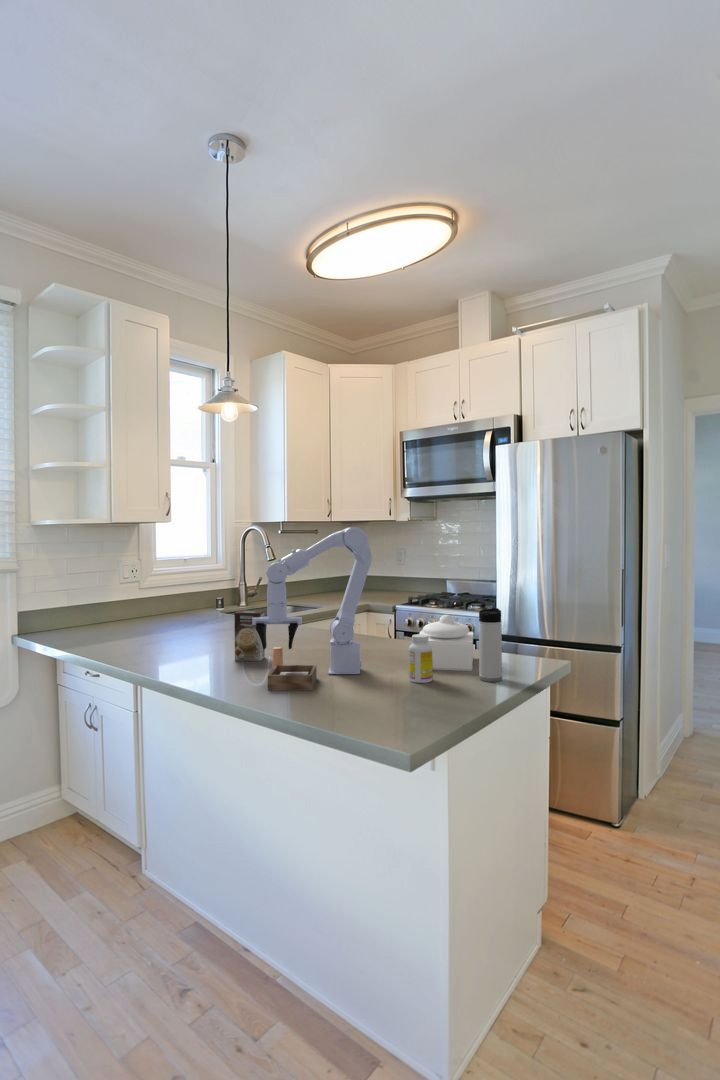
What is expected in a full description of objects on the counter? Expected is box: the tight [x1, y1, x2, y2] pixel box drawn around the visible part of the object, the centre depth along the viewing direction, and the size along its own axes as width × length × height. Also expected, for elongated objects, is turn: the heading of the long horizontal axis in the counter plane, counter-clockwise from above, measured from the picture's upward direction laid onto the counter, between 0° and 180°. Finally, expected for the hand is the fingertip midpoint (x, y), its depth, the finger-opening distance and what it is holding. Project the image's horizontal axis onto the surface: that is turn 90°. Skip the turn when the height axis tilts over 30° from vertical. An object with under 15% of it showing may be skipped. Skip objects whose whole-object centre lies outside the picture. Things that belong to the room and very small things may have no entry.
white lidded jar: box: [418, 614, 474, 672], centre depth 185 cm, size 18×18×16 cm
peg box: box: [267, 664, 318, 691], centre depth 162 cm, size 12×12×4 cm
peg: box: [272, 646, 284, 669], centre depth 172 cm, size 3×3×8 cm
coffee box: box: [234, 609, 266, 662], centre depth 194 cm, size 9×6×16 cm
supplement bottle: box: [408, 633, 434, 684], centre depth 164 cm, size 7×7×13 cm
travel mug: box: [478, 607, 503, 683], centre depth 164 cm, size 6×7×20 cm
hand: (277, 648), depth 172 cm, fingers open, 7 cm apart
